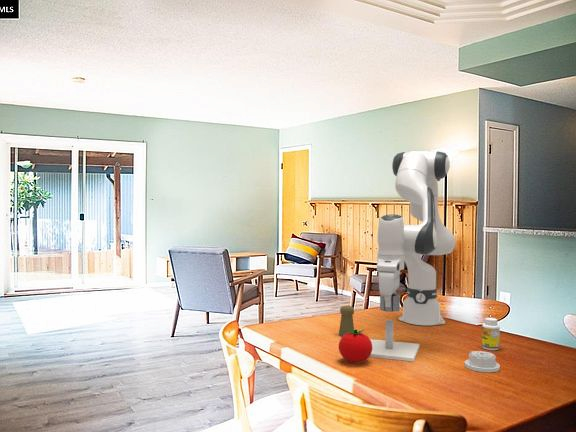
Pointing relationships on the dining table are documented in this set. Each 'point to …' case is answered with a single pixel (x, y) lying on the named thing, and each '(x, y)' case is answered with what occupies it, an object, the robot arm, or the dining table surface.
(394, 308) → the ring
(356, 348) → the tomato
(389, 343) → the post block
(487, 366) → the mechanical component
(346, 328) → the olive pepper mill
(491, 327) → the supplement bottle
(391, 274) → the robot arm
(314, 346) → the dining table surface
